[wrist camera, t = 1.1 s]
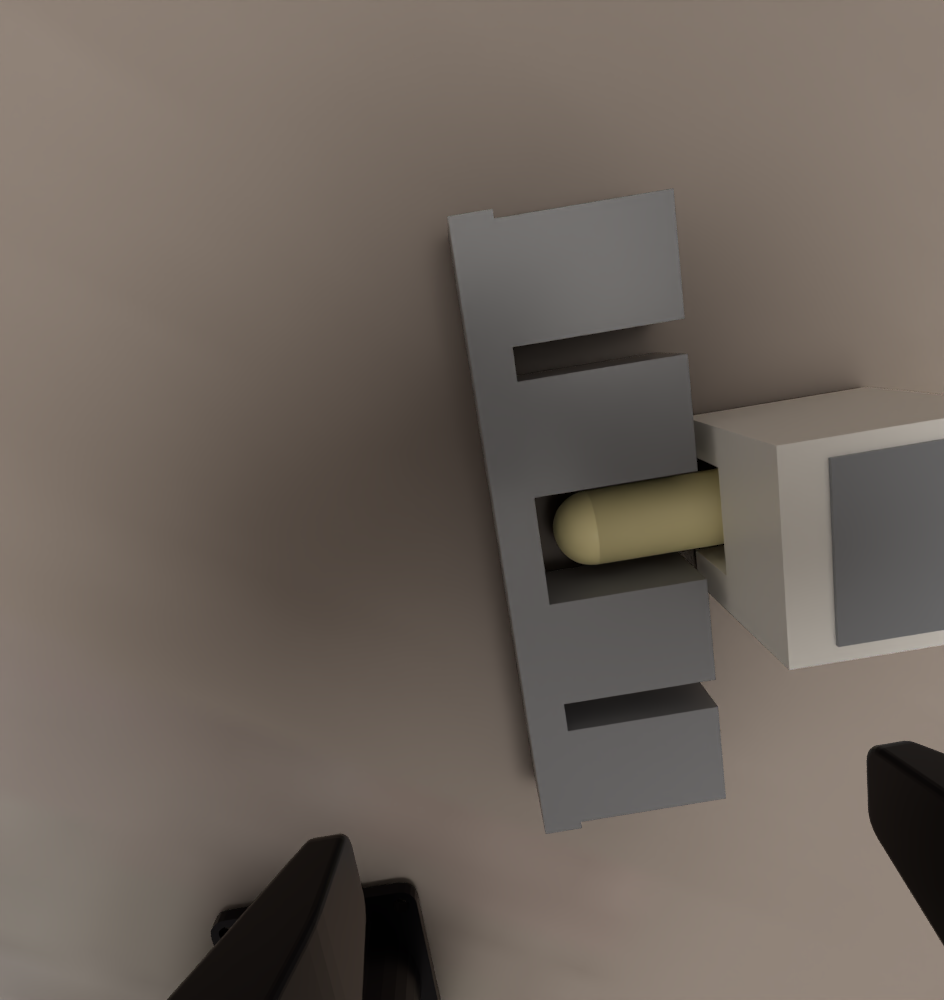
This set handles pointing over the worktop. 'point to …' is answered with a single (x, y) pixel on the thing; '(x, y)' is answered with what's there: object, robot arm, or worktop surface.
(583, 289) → the cord rig
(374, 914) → the robot arm
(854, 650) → the grey block
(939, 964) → the worktop surface
